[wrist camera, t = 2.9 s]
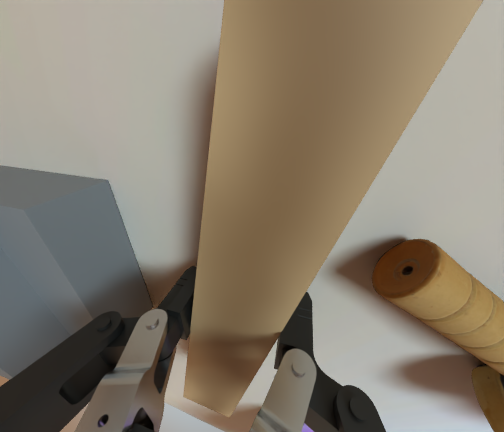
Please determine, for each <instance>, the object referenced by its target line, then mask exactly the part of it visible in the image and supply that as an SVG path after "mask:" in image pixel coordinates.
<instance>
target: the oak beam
mask: <svg viewBox="0 0 504 432" xmlns="http://www.w3.org/2000/svg"><path fill="white" fill-rule="evenodd" d="M482 2H483V0H224V9H223V18H222V28H221V38H220V47H219V57H218V67H217V76H216V86H215V96H214V105H213V115H212V125H211V134H210V144H209V154H208V163H207V173H206V183H205V192H204V202H203V212H202V221H201V231H200V241H199V250H198V260H197V270H196V279H195V289H194V299H193V308H192V318H191V328H190V331H191V333H190V337H189V347H188V357H187V367H186V376H185V386H184V396H183V397H185V398H187V399H190V400H192V401H194V402H196V403H198V404H200V405H203V406H205V407H207V408H209V409H211V410H214V411H216V412H218V413H220V414H222V415H225V416H227V417H229V418H230V416H231V414H232V413H233V411H234V409H235V408H236V406H237V404H238V403H239V401H240V399H241V398H242V396H243V395H244V393H245V391H246V390H247V388H248V386H249V385H250V383H251V381H252V380H253V378H254V376H255V375H256V373H257V371H258V370H259V368H260V367H261V365H262V363H263V362H264V360H265V358H266V357H267V355H268V353H269V352H270V350H271V348H272V347H273V345H274V344H275V342H276V340H277V339H278V337H279V335H280V332H282V330H283V329H284V327H285V325H286V324H287V322H288V321H289V319H290V317H291V316H292V314H293V312H294V311H295V309H296V307H297V306H298V304H299V302H300V301H301V299H302V298H303V296H304V294H305V293H306V291H307V289H308V288H309V286H310V284H311V283H312V281H313V279H314V278H315V276H316V275H317V273H318V271H319V270H320V268H321V266H322V265H323V263H324V261H325V260H326V258H327V256H328V255H329V253H330V251H331V250H332V248H333V247H334V245H335V243H336V242H337V240H338V238H339V237H340V235H341V233H342V232H343V230H344V228H345V227H346V225H347V224H348V222H349V220H350V219H351V217H352V215H353V214H354V212H355V210H356V209H357V207H358V205H359V204H360V202H361V201H362V199H363V197H364V196H365V194H366V192H367V191H368V189H369V187H370V186H371V184H372V182H373V181H374V179H375V178H376V176H377V174H378V173H379V171H380V169H381V168H382V166H383V164H384V163H385V161H386V159H387V158H388V156H389V155H390V153H391V151H392V150H393V148H394V146H395V145H396V143H397V141H398V140H399V138H400V136H401V135H402V133H403V131H404V130H405V128H406V127H407V125H408V123H409V122H410V120H411V118H412V117H413V115H414V113H415V112H416V110H417V108H418V107H419V105H420V104H421V102H422V100H423V99H424V97H425V95H426V94H427V92H428V90H429V89H430V87H431V85H432V84H433V82H434V81H435V79H436V77H437V76H438V74H439V72H440V71H441V69H442V67H443V66H444V64H445V62H446V61H447V59H448V58H449V56H450V54H451V53H452V51H453V49H454V48H455V46H456V44H457V43H458V41H459V39H460V38H461V36H462V35H463V33H464V31H465V30H466V28H467V26H468V25H469V23H470V21H471V20H472V18H473V16H474V15H475V13H476V11H477V10H478V8H479V7H480V5H481V3H482Z"/></svg>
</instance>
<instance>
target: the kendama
mask: <svg viewBox="0 0 504 432" xmlns="http://www.w3.org/2000/svg"><path fill="white" fill-rule="evenodd" d="M372 283H373V287H374V289H375V290H376V292H377V293H378V294H379V295H381V296H382V297H383V298H385V299H386V300H388V301H390V302H391V303H393V304H395V305H396V306H398V307H399V308H401V309H403V310H404V311H406V312H408V313H409V314H411V315H413V316H415V317H416V318H417V319H419V320H420V321H422V322H423V323H425V324H426V325H428V326H430V327H431V328H433V329H435V330H436V331H437V332H439V333H440V334H442V335H443V336H445V337H446V338H448V339H450V340H451V341H453V342H454V343H455V344H457V345H458V346H460V347H461V348H463V349H464V350H466V351H467V352H469V353H471V354H472V355H474V356H475V357H476V358H478V359H479V360H481V361H482V362H484V363H485V364H487V365H488V366H481V367H476V368H474V370H472V383H473V387H474V391H475V394H476V397H477V400H478V402H479V404H480V407H481V409H482V411H483V412H484V415H485V417H486V418H487V420H488V422H489V424H490V426H491V427H492V429H493V431H494V432H504V302H503V301H502V300H501V299H500V298H499V297H498V296H496V295H495V294H494V293H493V292H491V291H490V290H489V289H488V288H486V287H485V286H484V285H483V284H482V283H481V282H479V281H478V280H477V279H476V278H474V277H473V276H472V275H471V274H469V273H468V272H467V271H466V270H465V269H464V268H463V267H461V266H460V265H459V264H458V263H457V262H456V261H455V260H454V259H452V258H451V257H450V256H449V255H448V254H447V253H446V252H445V251H443V250H442V249H441V248H440V247H439V246H437V245H436V244H434V243H432V242H430V241H429V240H425V239H413V240H408V241H404V242H402V243H400V244H398V245H396V246H395V247H393V248H392V249H390V250H389V251H388V252H386V253H385V254H384V255H383V256H382V257H381V258H380V260H379V261H378V263H377V264H376V266H375V269H374V271H373V275H372Z"/></svg>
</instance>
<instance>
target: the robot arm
mask: <svg viewBox="0 0 504 432" xmlns="http://www.w3.org/2000/svg"><path fill="white" fill-rule="evenodd" d="M196 270H197V267H195V266H192V267H191V268H189V269H188V270H186V271H185V272H184V274H183V275H182V276H181V277H180V279H179V280H178V281H177V283H176V285H174V287H173V288H172V289H171V291H170V292H169V293H168V295H167V296H166V297H165V298H164V300H163V301H162V302H161V304H160V305H159V306H158V307H157V308H156V309H153V310H150V311H148V312H146V313H145V314H144V315H142V316H141V317H133V318H122V317H121V315H120V313H118V312H116V311H109V312H106V313H103V314H101V315H99V316H98V317H96V318H95V319H93V320H92V321H91V322H89V323H88V324H86V325H85V326H84V327H82V328H81V329H80V330H78V331H77V332H75V333H74V334H73V335H71V336H70V337H68V338H67V339H66V340H64V341H63V342H62V343H60V344H59V345H57V346H56V347H55V348H53V349H52V350H50V351H49V352H48V353H46V354H45V355H44V356H42V357H41V358H39V359H38V360H37V361H35V362H34V363H32V364H31V365H30V366H28V367H27V368H26V369H24V370H23V371H21V372H20V373H19V374H17V375H16V376H14V377H13V378H12V379H10V380H9V381H8V382H6V383H5V384H3V385H2V386H1V387H0V432H60V431H61V430H62V429H63V428H64V427H65V426H66V425H67V424H68V423H69V422H70V421H71V420H72V419H73V418H74V417H75V416H76V415H77V414H78V413H79V412H80V411H81V410H82V409H83V408H84V407H85V406H86V405H87V404H88V403H89V404H88V406H87V408H86V410H85V412H84V414H83V416H82V418H81V420H80V422H79V424H78V426H77V428H76V430H75V432H159V429H160V425H161V421H162V416H163V411H164V396H165V391H166V387H167V383H168V380H169V376H170V372H171V368H172V364H173V360H174V357H175V353H176V345H177V343H178V341H179V340H180V338H181V339H185V340H187V338H188V337H189V335H190V333H191V331H190V328H191V318H192V308H193V299H194V289H195V279H196ZM274 369H278V371H277V373H276V375H275V378H274V380H273V382H272V385H271V387H270V389H269V392H268V394H267V396H266V398H265V401H264V403H263V405H262V407H261V409H260V411H259V412H258V414H257V416H256V418H255V420H254V422H253V425H252V427H251V429H250V431H249V432H302V428H303V424H304V423H305V424H306V425H307V426H308V427H309V428H310V429H312V430H313V431H314V432H386V430H385V428H384V426H383V423H382V421H381V419H380V417H379V414H378V412H377V410H376V408H375V406H374V404H373V402H372V401H371V399H370V398H369V397H368V396H367V395H366V394H365V393H364V392H363V391H362V390H360V389H359V388H357V387H355V386H352V385H346V386H341V385H340V384H339V383H337V382H336V381H334V380H333V379H331V378H330V377H328V376H327V375H326V374H325V373H324V372H323V371H322V370H321V369H320V368H319V366H318V365H317V363H316V361H315V358H314V354H313V324H312V300H311V298H310V296H309V294H308V292H306V293H305V294H304V296H303V298H302V299H301V301H300V302H299V304H298V306H297V307H296V309H295V311H294V312H293V314H292V316H291V317H290V319H289V321H288V322H287V324H286V325H285V327H284V329H283V330H282V332H280V335H279V337H278V342H277V350H276V357H275V365H274Z"/></svg>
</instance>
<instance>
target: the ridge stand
mask: <svg viewBox="0 0 504 432" xmlns="http://www.w3.org/2000/svg"><path fill="white" fill-rule="evenodd" d="M152 307H153V305H152V302H151V300H150V297H149V294H148V291H147V288H146V286H145V283H144V280H143V277H142V274H141V272H140V269H139V266H138V263H137V260H136V258H135V255H134V252H133V249H132V246H131V244H130V241H129V238H128V235H127V233H126V230H125V227H124V224H123V221H122V219H121V216H120V213H119V210H118V207H117V205H116V202H115V199H114V196H113V193H112V191H111V188H110V185H109V182H108V180H102V179H94V178H87V177H80V176H72V175H65V174H58V173H50V172H43V171H36V170H29V169H21V168H14V167H7V166H0V375H1V376H3V377H5V378H7V379H9V380H10V379H12V378H13V377H14V376H16V375H17V374H19V373H20V372H21V371H23V370H24V369H26V368H27V367H28V366H30V365H31V364H32V363H34V362H35V361H37V360H38V359H39V358H41V357H42V356H44V355H45V354H46V353H48V352H49V351H50V350H52V349H53V348H55V347H56V346H57V345H59V344H60V343H62V342H63V341H64V340H66V339H67V338H68V337H70V336H71V335H73V334H74V333H75V332H77V331H78V330H80V329H81V328H82V327H84V326H85V325H86V324H88V323H89V322H91V321H92V320H93V319H95V318H96V317H98V316H99V315H101V314H103V313H106V312H109V311H116V312H118V313H120V315H121V317H122V318H133V317H141V316H142V315H144V314H145V313H146V312H148V311H150V310H151V308H152Z"/></svg>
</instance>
